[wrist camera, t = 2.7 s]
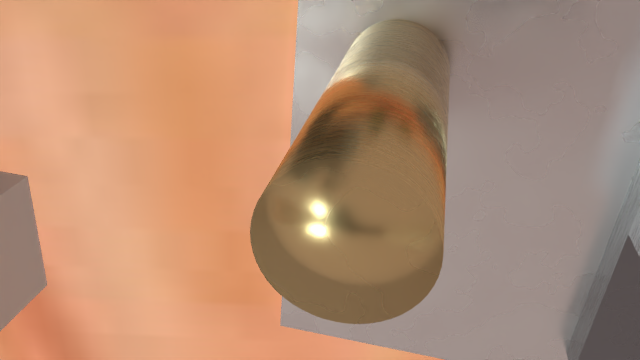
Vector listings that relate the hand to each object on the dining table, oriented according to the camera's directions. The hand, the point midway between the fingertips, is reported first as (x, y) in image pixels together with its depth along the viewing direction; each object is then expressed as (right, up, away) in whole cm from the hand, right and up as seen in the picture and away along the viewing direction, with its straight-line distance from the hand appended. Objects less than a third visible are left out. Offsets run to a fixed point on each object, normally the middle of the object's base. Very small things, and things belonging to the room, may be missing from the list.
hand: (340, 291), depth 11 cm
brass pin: (+3, +6, +11) cm, 13 cm away
